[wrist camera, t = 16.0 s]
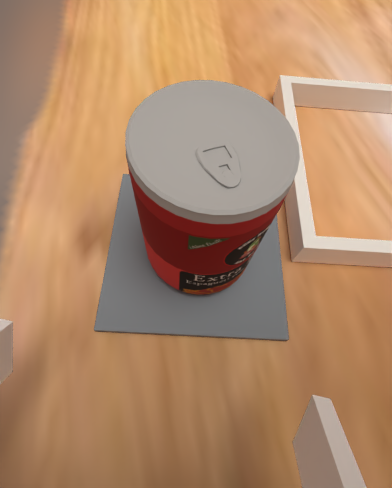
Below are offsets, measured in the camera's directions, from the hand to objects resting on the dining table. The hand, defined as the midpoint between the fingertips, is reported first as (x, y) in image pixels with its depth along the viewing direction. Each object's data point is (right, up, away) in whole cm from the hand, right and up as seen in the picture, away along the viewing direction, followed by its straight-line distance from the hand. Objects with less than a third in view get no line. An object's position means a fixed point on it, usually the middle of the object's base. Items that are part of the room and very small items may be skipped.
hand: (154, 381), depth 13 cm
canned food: (+2, +6, +10) cm, 12 cm away
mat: (+2, +6, +10) cm, 12 cm away
